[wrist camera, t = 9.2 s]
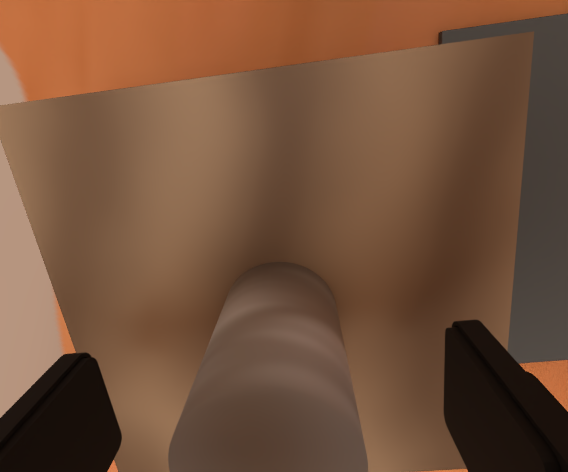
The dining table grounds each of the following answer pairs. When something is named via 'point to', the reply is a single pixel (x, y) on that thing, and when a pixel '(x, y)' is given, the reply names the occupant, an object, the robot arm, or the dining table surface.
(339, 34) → the dining table surface
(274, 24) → the dining table surface
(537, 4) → the dining table surface
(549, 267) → the rubber mat
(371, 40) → the dining table surface
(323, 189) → the walnut lid
